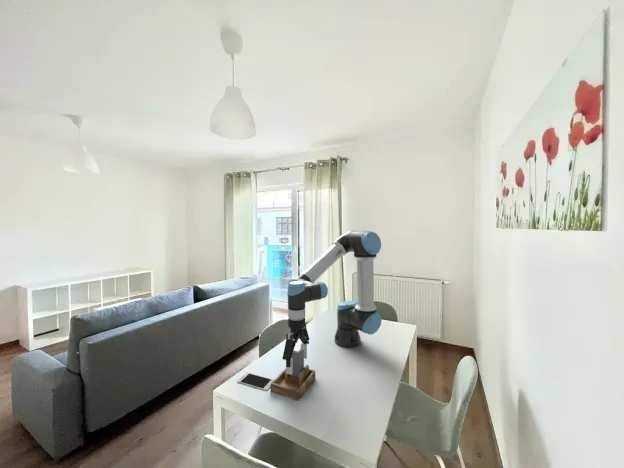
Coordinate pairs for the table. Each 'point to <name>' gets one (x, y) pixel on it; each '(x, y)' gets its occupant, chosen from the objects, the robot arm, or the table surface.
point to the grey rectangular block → (297, 362)
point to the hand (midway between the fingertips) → (297, 365)
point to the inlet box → (293, 383)
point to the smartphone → (256, 381)
